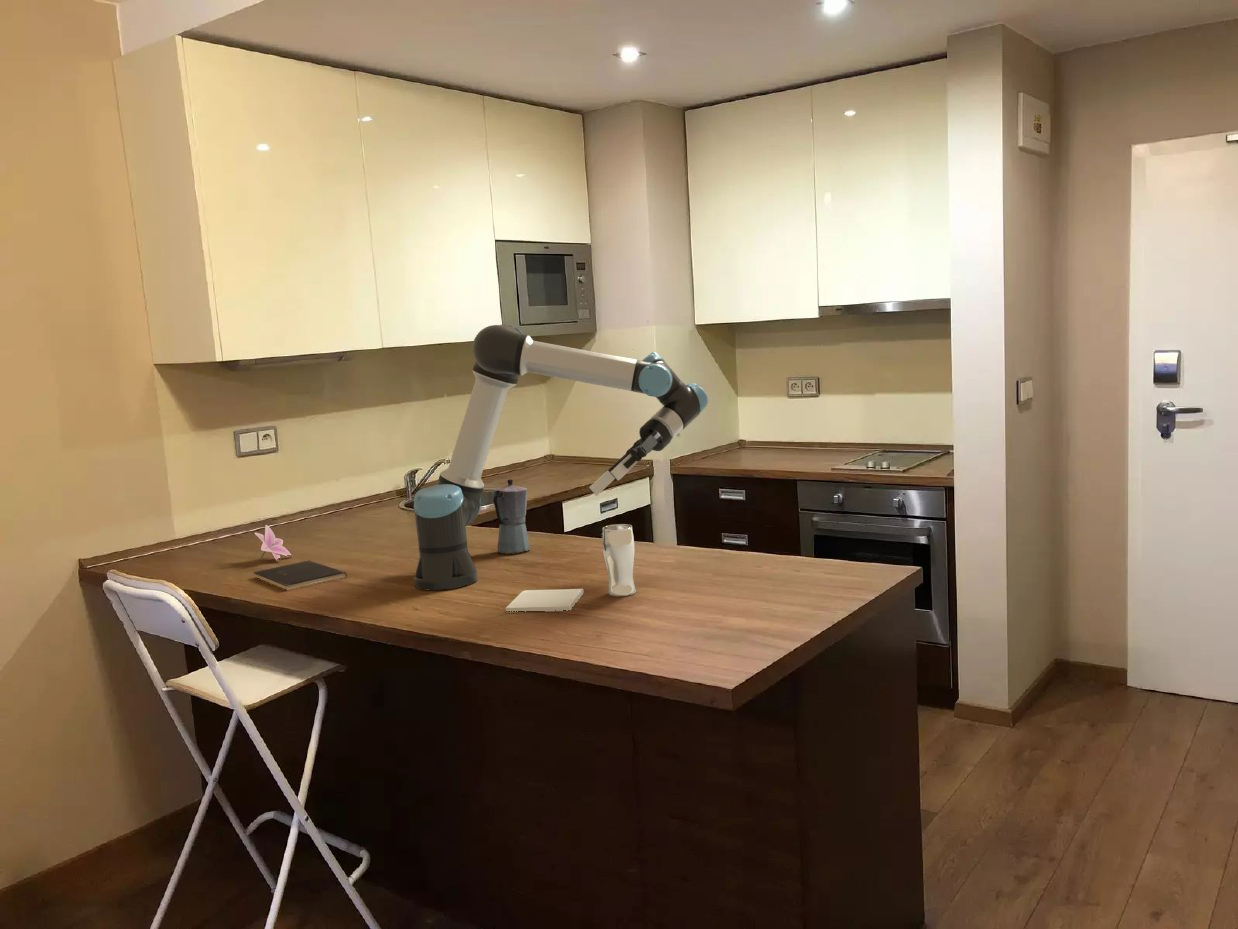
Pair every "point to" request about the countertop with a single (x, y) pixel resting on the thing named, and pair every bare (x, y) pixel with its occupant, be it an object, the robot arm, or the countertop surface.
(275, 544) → the lily
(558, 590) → the mat
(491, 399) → the robot arm
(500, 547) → the moka pot
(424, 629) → the countertop surface
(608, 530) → the beer glass
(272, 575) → the hardcover book
